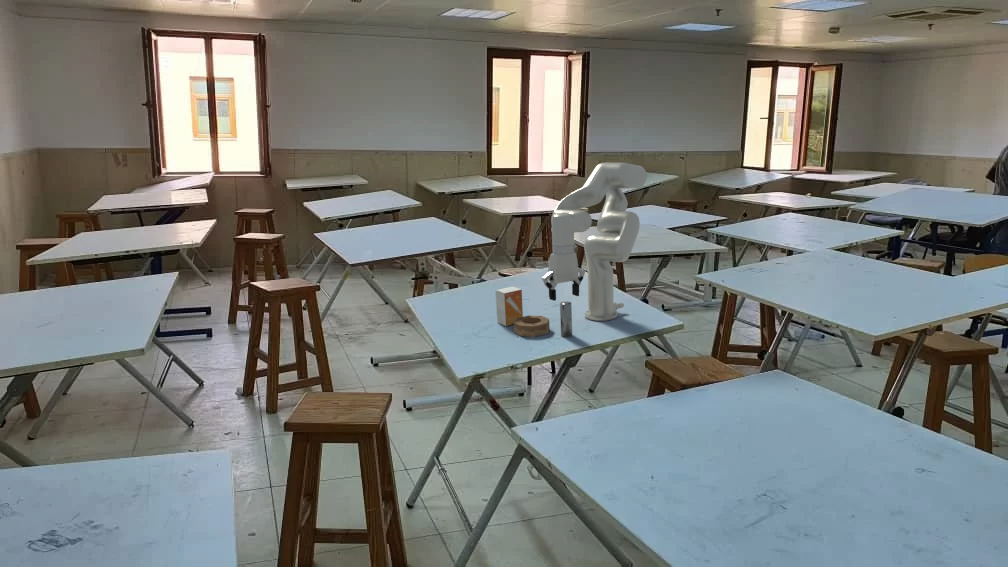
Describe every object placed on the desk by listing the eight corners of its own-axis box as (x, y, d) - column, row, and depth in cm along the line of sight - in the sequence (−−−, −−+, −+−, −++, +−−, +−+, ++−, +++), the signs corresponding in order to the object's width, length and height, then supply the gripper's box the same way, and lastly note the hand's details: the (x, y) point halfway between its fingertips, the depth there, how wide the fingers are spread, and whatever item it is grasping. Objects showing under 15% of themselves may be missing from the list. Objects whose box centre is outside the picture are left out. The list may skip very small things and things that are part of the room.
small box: (506, 326, 264) (504, 293, 260) (496, 322, 269) (494, 289, 265) (523, 322, 268) (522, 289, 264) (514, 318, 273) (512, 285, 270)
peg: (568, 332, 253) (567, 300, 250) (574, 335, 249) (573, 303, 246) (558, 335, 251) (557, 302, 248) (565, 338, 247) (564, 305, 244)
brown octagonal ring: (537, 323, 265) (536, 313, 264) (554, 331, 255) (554, 321, 254) (509, 330, 259) (508, 319, 258) (526, 338, 249) (526, 328, 248)
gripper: (577, 244, 249) (578, 291, 253) (536, 251, 241) (537, 299, 245) (590, 247, 243) (590, 295, 247) (548, 254, 235) (549, 304, 239)
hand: (564, 297), depth 246 cm, fingers open, 9 cm apart
